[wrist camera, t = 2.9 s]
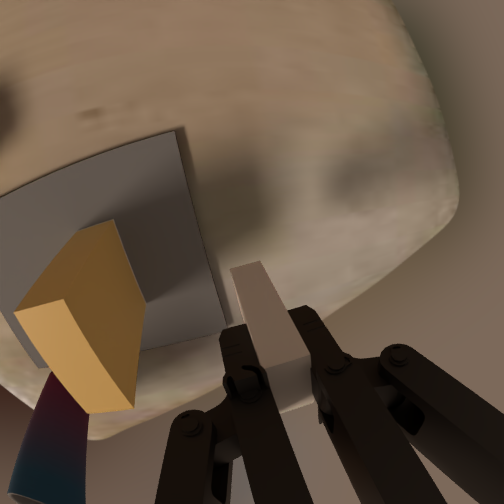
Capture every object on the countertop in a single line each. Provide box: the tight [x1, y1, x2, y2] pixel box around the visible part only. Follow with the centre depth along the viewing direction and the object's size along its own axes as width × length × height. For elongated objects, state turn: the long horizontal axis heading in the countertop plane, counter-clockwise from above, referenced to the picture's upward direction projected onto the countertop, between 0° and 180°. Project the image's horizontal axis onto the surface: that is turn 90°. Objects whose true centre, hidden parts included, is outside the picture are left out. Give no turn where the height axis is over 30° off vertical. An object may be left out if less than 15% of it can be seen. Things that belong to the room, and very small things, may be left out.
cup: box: [7, 371, 89, 504], centre depth 18 cm, size 7×7×15 cm
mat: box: [0, 131, 228, 368], centre depth 20 cm, size 16×20×1 cm
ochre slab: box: [14, 219, 146, 414], centre depth 16 cm, size 7×3×10 cm, turn 11°
